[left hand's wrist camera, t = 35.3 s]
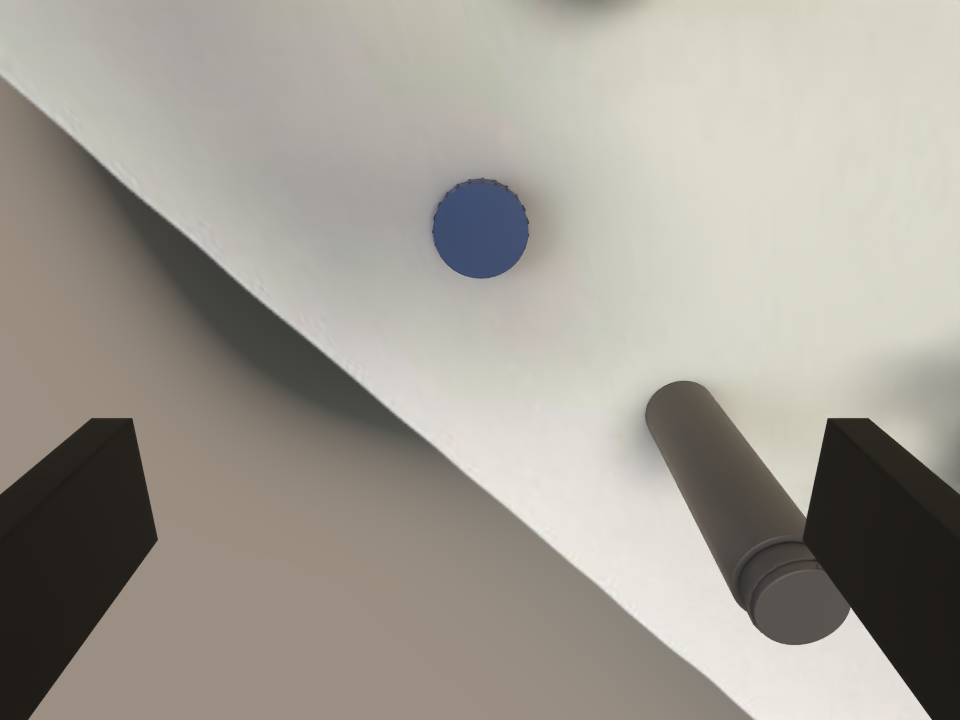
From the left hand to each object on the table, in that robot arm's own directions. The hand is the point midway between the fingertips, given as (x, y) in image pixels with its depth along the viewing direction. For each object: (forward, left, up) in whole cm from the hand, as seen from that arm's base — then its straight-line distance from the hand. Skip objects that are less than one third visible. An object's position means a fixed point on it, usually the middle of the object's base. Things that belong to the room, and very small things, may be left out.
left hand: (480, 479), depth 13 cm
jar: (+18, 0, -29) cm, 34 cm away
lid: (0, 0, -27) cm, 27 cm away
